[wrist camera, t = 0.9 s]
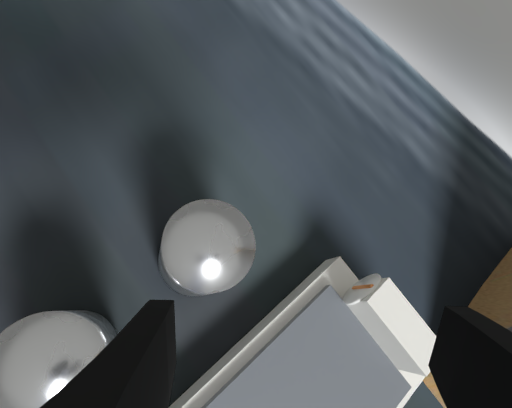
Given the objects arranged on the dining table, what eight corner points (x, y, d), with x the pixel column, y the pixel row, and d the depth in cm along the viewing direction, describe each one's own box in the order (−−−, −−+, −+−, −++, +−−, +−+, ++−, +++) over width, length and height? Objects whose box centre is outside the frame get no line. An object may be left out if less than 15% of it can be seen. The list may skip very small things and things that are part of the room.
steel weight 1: (61, 418, 18) (22, 467, 13) (9, 349, 18) (-51, 367, 13) (135, 356, 20) (130, 374, 14) (88, 293, 20) (64, 287, 15)
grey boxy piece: (257, 559, 19) (292, 641, 14) (153, 421, 19) (154, 457, 15) (411, 361, 24) (472, 374, 20) (328, 257, 25) (369, 245, 20)
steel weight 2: (188, 312, 21) (201, 314, 16) (143, 253, 21) (140, 235, 16) (243, 265, 23) (273, 252, 17) (201, 212, 23) (217, 182, 18)
